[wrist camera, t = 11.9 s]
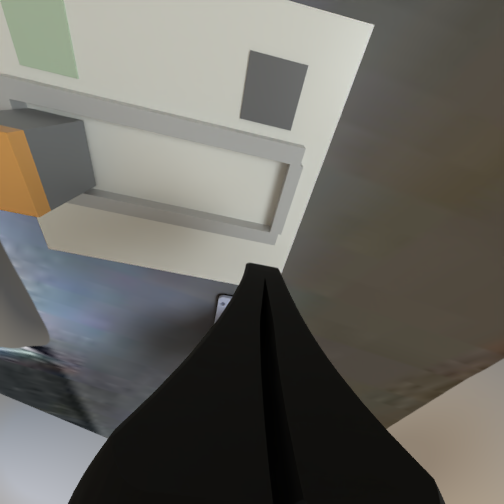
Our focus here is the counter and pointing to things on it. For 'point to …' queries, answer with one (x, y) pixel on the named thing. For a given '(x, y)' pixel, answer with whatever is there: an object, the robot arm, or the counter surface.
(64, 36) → the switch panel
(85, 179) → the knob
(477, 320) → the counter surface
